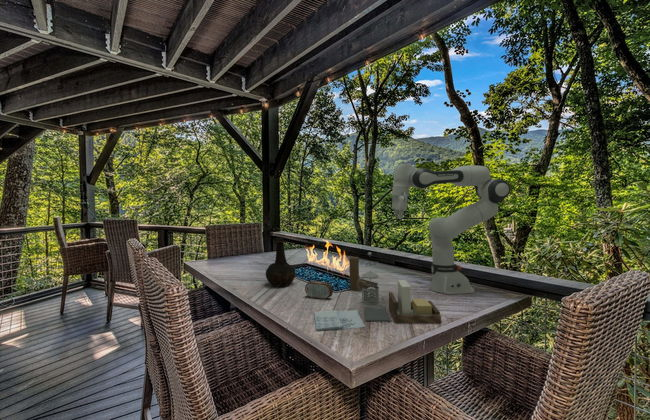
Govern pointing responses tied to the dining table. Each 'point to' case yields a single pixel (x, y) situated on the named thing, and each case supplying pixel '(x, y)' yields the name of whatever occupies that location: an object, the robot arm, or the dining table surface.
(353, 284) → the wooden block
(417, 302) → the offcut upper
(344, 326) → the light flat printed piece
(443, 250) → the robot arm
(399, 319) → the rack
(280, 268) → the dark brown vase
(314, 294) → the tin
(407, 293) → the pale grey rectangular block
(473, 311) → the dining table surface
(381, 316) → the pad
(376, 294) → the french press
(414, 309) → the offcut lower
